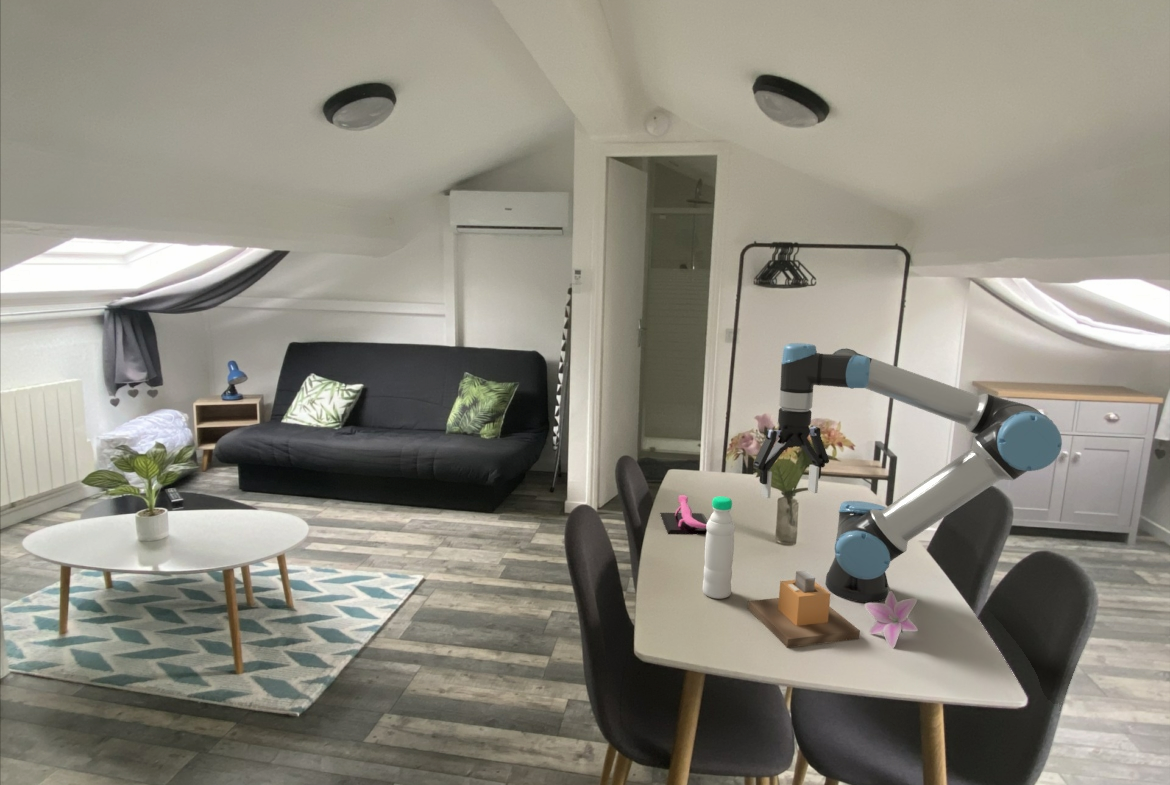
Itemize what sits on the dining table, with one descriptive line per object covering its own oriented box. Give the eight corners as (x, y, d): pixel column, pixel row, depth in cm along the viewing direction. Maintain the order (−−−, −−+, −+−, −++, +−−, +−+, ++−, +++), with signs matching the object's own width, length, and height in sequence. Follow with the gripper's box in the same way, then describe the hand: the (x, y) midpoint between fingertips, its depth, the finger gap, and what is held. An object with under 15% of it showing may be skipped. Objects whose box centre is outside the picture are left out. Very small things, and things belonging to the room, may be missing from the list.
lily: (860, 623, 164) (853, 596, 159) (909, 607, 162) (903, 579, 158) (883, 664, 153) (876, 636, 149) (936, 648, 152) (930, 619, 147)
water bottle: (709, 601, 170) (715, 504, 166) (697, 588, 177) (703, 494, 173) (735, 598, 172) (742, 502, 168) (722, 586, 179) (728, 493, 175)
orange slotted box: (827, 622, 157) (830, 592, 156) (796, 625, 155) (799, 595, 154) (808, 605, 165) (810, 577, 164) (778, 609, 163) (780, 579, 162)
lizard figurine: (702, 514, 234) (703, 493, 233) (714, 537, 214) (716, 514, 213) (659, 513, 233) (660, 492, 232) (667, 536, 214) (668, 513, 212)
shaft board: (813, 601, 172) (817, 556, 170) (859, 638, 154) (864, 588, 152) (747, 608, 167) (751, 561, 165) (787, 647, 150) (791, 595, 148)
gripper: (827, 403, 173) (821, 485, 176) (741, 408, 164) (736, 494, 168) (848, 408, 166) (841, 493, 169) (759, 414, 157) (754, 503, 161)
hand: (789, 494), depth 169 cm, fingers open, 13 cm apart
